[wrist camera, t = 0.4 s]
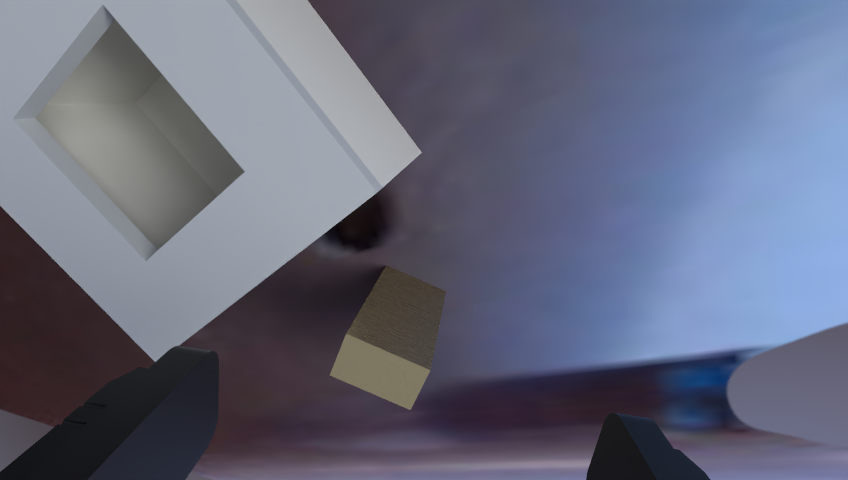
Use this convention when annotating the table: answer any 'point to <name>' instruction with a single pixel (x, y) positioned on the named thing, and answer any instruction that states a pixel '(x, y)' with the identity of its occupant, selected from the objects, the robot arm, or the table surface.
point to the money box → (183, 147)
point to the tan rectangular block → (392, 338)
